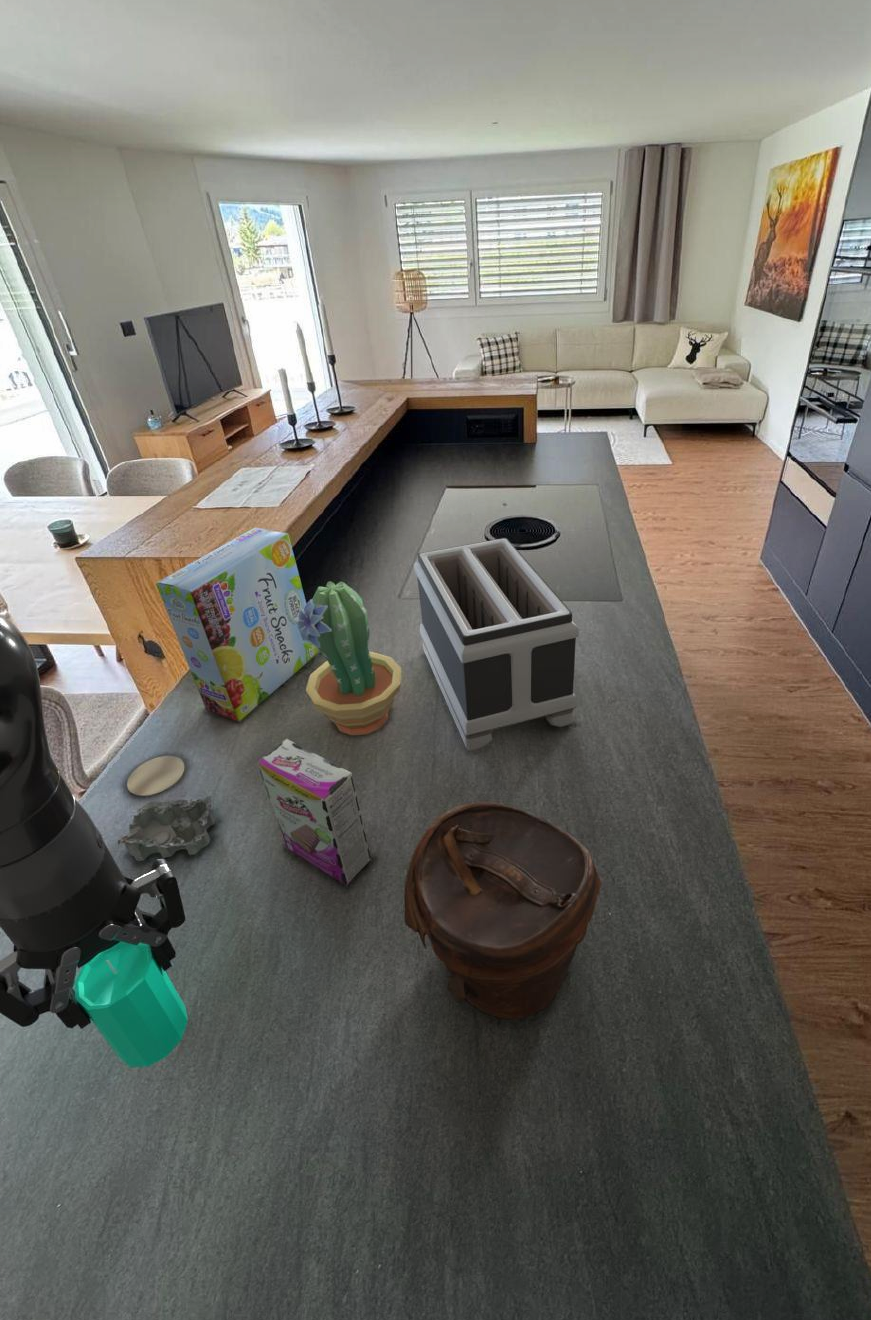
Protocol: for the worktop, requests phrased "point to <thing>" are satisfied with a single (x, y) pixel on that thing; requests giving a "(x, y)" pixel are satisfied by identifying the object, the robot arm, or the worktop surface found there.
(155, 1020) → the candle
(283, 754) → the candy bar box
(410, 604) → the worktop surface
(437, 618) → the toaster
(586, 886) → the case
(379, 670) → the potted cactus
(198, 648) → the snack box
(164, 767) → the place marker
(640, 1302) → the worktop surface
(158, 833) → the egg carton
